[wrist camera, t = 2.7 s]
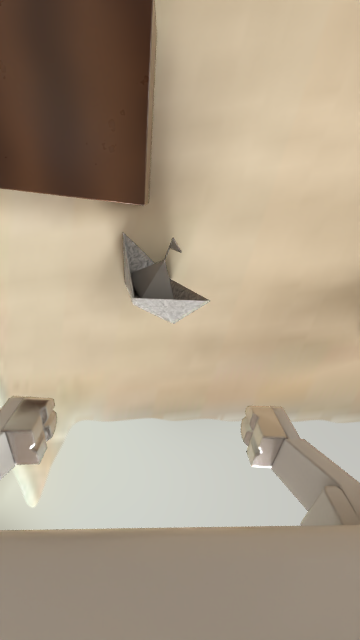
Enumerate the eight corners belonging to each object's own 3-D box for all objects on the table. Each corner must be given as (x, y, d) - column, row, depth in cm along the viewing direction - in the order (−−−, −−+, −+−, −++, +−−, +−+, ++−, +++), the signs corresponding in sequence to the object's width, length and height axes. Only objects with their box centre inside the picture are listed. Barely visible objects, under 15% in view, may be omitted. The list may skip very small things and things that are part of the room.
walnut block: (157, 34, 19) (153, -13, 15) (148, 203, 25) (144, 205, 20) (-6, 4, 18) (-63, -58, 14) (23, 187, 23) (-10, 187, 19)
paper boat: (88, 287, 27) (100, 206, 21) (129, 272, 32) (148, 202, 26) (168, 357, 24) (207, 287, 18) (200, 329, 29) (239, 266, 23)
